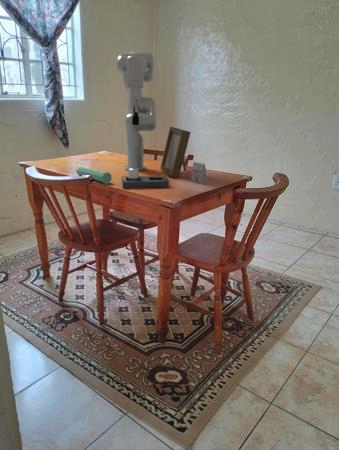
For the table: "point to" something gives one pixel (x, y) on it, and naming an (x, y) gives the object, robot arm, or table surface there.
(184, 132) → the photo frame
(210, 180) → the table surface
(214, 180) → the table surface
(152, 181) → the block
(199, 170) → the grey upright block
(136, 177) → the bushing
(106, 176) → the container
